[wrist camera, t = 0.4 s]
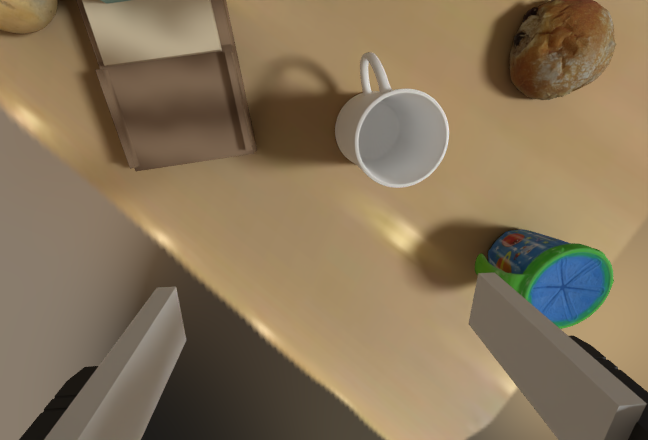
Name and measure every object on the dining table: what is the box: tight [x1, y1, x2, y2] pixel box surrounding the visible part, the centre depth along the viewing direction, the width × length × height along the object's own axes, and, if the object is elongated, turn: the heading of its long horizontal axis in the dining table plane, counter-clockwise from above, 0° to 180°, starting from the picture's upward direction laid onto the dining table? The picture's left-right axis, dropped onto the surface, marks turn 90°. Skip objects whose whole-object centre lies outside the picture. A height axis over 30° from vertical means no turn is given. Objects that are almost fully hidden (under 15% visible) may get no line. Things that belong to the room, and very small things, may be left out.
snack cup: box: [475, 230, 614, 329], centre depth 40 cm, size 16×11×10 cm
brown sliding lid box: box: [76, 0, 257, 171], centre depth 32 cm, size 22×13×4 cm, turn 8°
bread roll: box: [509, 0, 616, 100], centre depth 34 cm, size 10×10×8 cm
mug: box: [335, 52, 449, 188], centre depth 31 cm, size 12×8×12 cm
